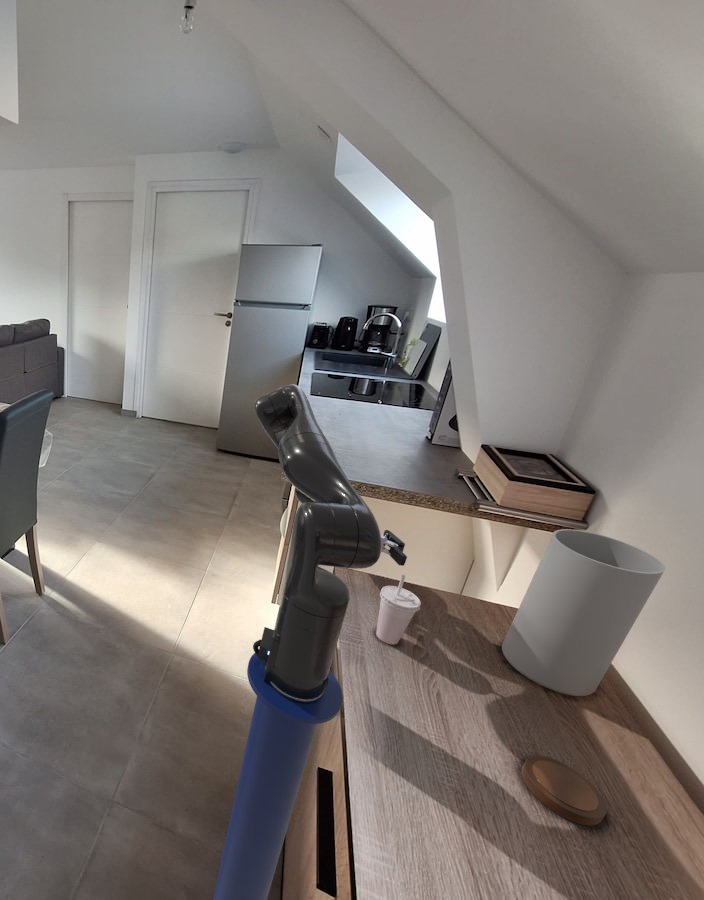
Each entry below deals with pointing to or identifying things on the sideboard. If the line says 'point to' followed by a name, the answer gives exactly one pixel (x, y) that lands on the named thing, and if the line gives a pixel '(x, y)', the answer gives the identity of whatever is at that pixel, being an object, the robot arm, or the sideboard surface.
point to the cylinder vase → (579, 610)
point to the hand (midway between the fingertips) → (381, 560)
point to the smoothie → (395, 612)
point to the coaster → (563, 790)
